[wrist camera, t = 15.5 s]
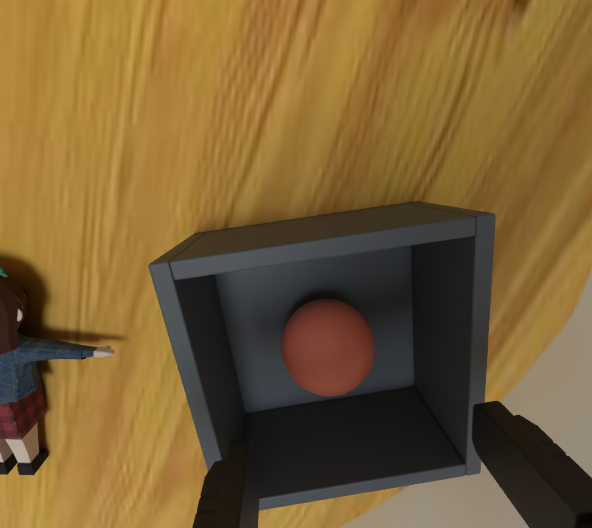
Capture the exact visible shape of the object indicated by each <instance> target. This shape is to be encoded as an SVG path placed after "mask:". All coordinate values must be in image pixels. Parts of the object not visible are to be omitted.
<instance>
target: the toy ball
mask: <svg viewBox="0 0 592 528" xmlns="http://www.w3.org/2000/svg"><path fill="white" fill-rule="evenodd" d="M281 355H282V359H283V362H284V365H285V367H286V370H287V371H288V373H289V375H290V376H291V377H292V379H293V380H294V381H295V382H296V383H297V384H298V385H300V386H301V387H302V388H304V389H305V390H307V391H309V392H311V393H314V394H317V395H321V396H337V395H342V394H345V393H347V392H349V391H351V390H353V389H355V388H356V387H357V386H359V385H360V384H361V383H362V382H363V381H364V379H365V378H366V377H367V375H368V373H369V372H370V370H371V368H372V365H373V361H374V357H375V341H374V336H373V333H372V330H371V328H370V326H369V324H368V322H367V321H366V319H365V318H364V317H363V315H362V314H361V313H360V312H359V311H357V310H356V309H355V308H354V307H352V306H351V305H349V304H347V303H345V302H342V301H339V300H335V299H319V300H314V301H311V302H309V303H307V304H305V305H303V306H301V307H300V308H299V309H297V310H296V311H295V312H294V313H293V314H292V316H291V317H290V318H289V320H288V321H287V323H286V325H285V327H284V330H283V333H282V338H281Z"/></svg>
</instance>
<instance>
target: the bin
mask: <svg viewBox="0 0 592 528" xmlns="http://www.w3.org/2000/svg"><path fill="white" fill-rule="evenodd" d="M494 233H495V214H493V213H487V212H480V211H474V210H468V209H462V208H456V207H449V206H443V205H437V204H431V203H425V202H419V201H416V202H409V203H402V204H395V205H389V206H382V207H375V208H368V209H361V210H354V211H347V212H340V213H333V214H326V215H319V216H312V217H306V218H299V219H292V220H285V221H278V222H271V223H264V224H257V225H250V226H243V227H236V228H229V229H223V230H216V231H209V232H202V233H195V234H193V235H192V236H190V237H189V238H187V239H186V240H184V241H183V242H181V243H180V244H178V245H177V246H175V247H174V248H173V249H171V250H170V251H168V252H167V253H165V254H164V255H162V256H161V257H159V258H158V259H156V260H155V261H153V262H152V263H150V264H149V265H148V266H149V270H150V273H151V277H152V280H153V284H154V287H155V290H156V294H157V297H158V301H159V304H160V308H161V311H162V314H163V318H164V321H165V325H166V328H167V332H168V335H169V338H170V342H171V345H172V349H173V352H174V356H175V359H176V362H177V366H178V369H179V373H180V376H181V380H182V383H183V386H184V390H185V393H186V397H187V400H188V404H189V407H190V410H191V414H192V417H193V421H194V424H195V427H196V431H197V434H198V438H199V441H200V445H201V448H202V451H203V455H204V458H205V462H206V465H207V469H208V471H209V470H210V468H211V467H212V465H213V463H214V462H215V461H221V460H225V459H226V454H227V449H228V444H229V442H230V441H235V440H242V439H248V438H251V440H252V443H253V447H254V452H255V456H256V460H257V465H258V469H259V477H260V497H259V510H265V509H271V508H277V507H283V506H288V505H294V504H300V503H306V502H312V501H318V500H324V499H330V498H336V497H342V496H348V495H354V494H360V493H366V492H372V491H377V490H383V489H389V488H395V487H401V486H407V485H413V484H419V483H425V482H431V481H437V480H442V479H449V478H455V477H460V476H465V475H473V474H479V473H480V469H481V459H480V458H479V456H478V454H477V452H476V450H475V448H474V445H473V442H472V419H473V406H474V405H475V404H479V403H484V401H485V385H486V368H487V351H488V334H489V317H490V301H491V284H492V267H493V250H494ZM319 299H335V300H339V301H342V302H345V303H347V304H349V305H351V306H352V307H354V308H355V309H356V310H357V311H359V312H360V313H361V314H362V315H363V317H364V318H365V319H366V321H367V322H368V324H369V326H370V328H371V330H372V333H373V336H374V341H375V357H374V361H373V365H372V368H371V370H370V372H369V373H368V375H367V377H366V378H365V379H364V381H363V382H362V383H361V384H360V385H359V386H357V387H356V388H355V389H353V390H351V391H349V392H347V393H345V394H342V395H337V396H321V395H317V394H314V393H311V392H309V391H307V390H305V389H304V388H302V387H301V386H300V385H298V384H297V383H296V382H295V381H294V380H293V379H292V377H291V376H290V375H289V373H288V371H287V370H286V367H285V365H284V362H283V359H282V355H281V338H282V333H283V330H284V327H285V325H286V323H287V321H288V320H289V318H290V317H291V316H292V314H293V313H294V312H295V311H296V310H297V309H299V308H300V307H301V306H303V305H305V304H307V303H309V302H311V301H314V300H319Z"/></svg>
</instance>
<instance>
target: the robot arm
mask: <svg viewBox="0 0 592 528" xmlns="http://www.w3.org/2000/svg"><path fill="white" fill-rule="evenodd" d="M472 442H473V445H474V448H475V450H476V452H477V454H478V456H479V458H480V459H481V460H482V462H483V463H484V465H485V466H486V467H487V469H488V470H489V472H490V473H491V475H492V476H493V477H494V479H495V480H496V482H497V483H498V484H499V486H500V487H501V488H502V490H503V491H504V493H505V494H506V496H507V497H508V498H509V500H510V501H511V502H512V504H513V505H514V507H515V508H516V510H517V511H518V512H519V514H520V515H521V517H522V518H523V519H524V521H525V522H526V524H527V525H528V526H529V528H592V478H591V477H590V476H589V475H588V474H587V473H586V472H585V471H584V470H583V469H582V468H581V467H580V466H579V465H578V464H576V462H574V461H573V460H572V459H571V458H570V457H569V456H567V455H566V453H565V452H564V451H563V450H562V449H561V448H560V447H559V446H558V445H557V444H554V443H553V440H552V439H550V437H549V436H548V435H546V434H545V433H544V432H543V431H542V430H541V429H540V428H539V427H538V426H537V425H535V424H533V423H532V422H530V421H529V420H527V419H525V418H524V417H522V416H520V415H516V416H513V415H512V414H511V413H510V412H509V411H508V410H507V409H506V408H505V406H503V405H502V404H501V403H500V402H498V401H492V402H486V403H479V404H475V405H474V406H473V419H472ZM259 497H260V477H259V469H258V465H257V460H256V456H255V452H254V447H253V443H252V440H251V438H248V439H242V440H235V441H230V442H229V444H228V449H227V454H226V459H225V460H221V461H215V462H214V463H213V465H212V467H211V468H210V470H209V471H208V473H207V475H206V476H205V479H204V483H203V487H202V491H201V498H200V500H199V504H198V508H197V514H196V516H195V520H194V524H193V528H258V514H259Z"/></svg>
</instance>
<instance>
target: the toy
mask: <svg viewBox="0 0 592 528" xmlns="http://www.w3.org/2000/svg"><path fill="white" fill-rule="evenodd" d="M24 293H25V291H24V290H23V288H22V286H21V285H20V283H19V282H18V281H17V280H16V279H15V278H13V277H12V276H10V275H8V274H6V273H4V270H3V269H2V268H0V474H8V473H9V472H10V471H11V470H12V469H13V467H14V466H15V465H16V464H17V463H18V465H17V467H18V472H19V475H34V474H35V473H36V472H37V470H38V469H39V468H40V466H41V465H42V464H43V462H44V461H45V460H46V458H47V457H48V455H49V454H48V452H47V451H39V444H38V423H37V422H38V421H39V420H40V419H41V418H42V417H43V416H44V414H45V413H46V408H45V402H44V396H43V390H42V386H41V384H40V382H41V378H40V375H39V372H38V370H37V367H36V365H37V361H39V360H50V359H85V358H86V357H104V356H112V355H113V354H114V352H115V351H114V350H112V349H110V346H106V347H92V346H85V345H79V344H73V343H68V342H62V341H57V340H50V339H40V338H31V337H26V336H24V335H22V334H20V333H17V332H16V331H17V328H18V327H19V325H20V324H21V322H22V320H23V319H24V317H25V316H26V308H27V304H26V298H25V295H24Z"/></svg>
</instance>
